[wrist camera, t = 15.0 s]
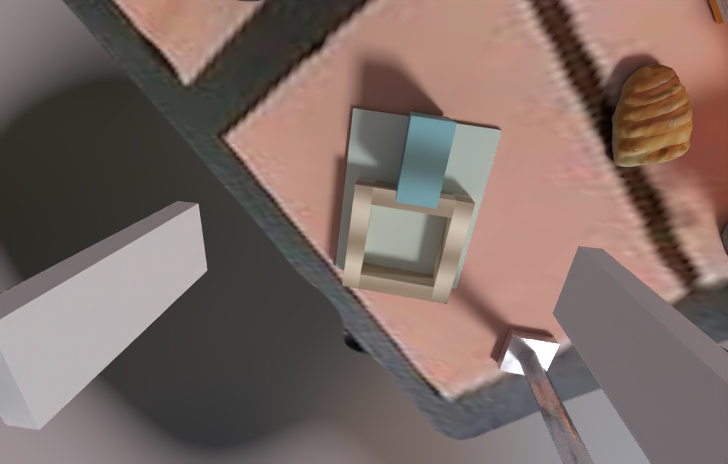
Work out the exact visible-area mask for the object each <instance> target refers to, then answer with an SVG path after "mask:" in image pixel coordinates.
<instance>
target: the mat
mask: <svg viewBox="0 0 728 464" xmlns="http://www.w3.org/2000/svg"><path fill="white" fill-rule="evenodd" d="M408 119H409V116H405V115H398V114H392V113H385V112H378V111H371V110H365V109H358V108H353V115H352V124H351V133H350V141H349V150H348V159H347V168H346V177H345V185H344V194H343V203H342V212H341V221H340V229H339V238H338V247H337V256H336V265H335V268H336V269H342V270H344V268H345V261H346V253H347V245H348V237H349V230H350V222H351V214H352V206H353V198H354V191H355V184H356V182H357V180H358V178H363V179H370V180H376V181H382V182H388V183H394V184H397V180H398V175H399V169H400V164H401V158H402V153H403V147H404V141H405V136H406V130H407V125H408ZM501 133H502V130H499V129H492V128H485V127H479V126H472V125H465V124H458V123H457V125H456V130H455V134H454V138H453V142H452V147H451V151H450V155H449V159H448V163H447V168H446V172H445V176H444V180H443V185H442V189H441V191H444V192H450V193H457V194H463V195H469V196H471V198H472V199H473V201H474V202H475V207H474V210H473V214H472V217H471V221H470V224H469V228H468V231H467V235H466V238H465V242H464V245H463V249H462V252H461V256H460V260H459V263H458V267H457V270H456V274H455V277H454V281H453V284H452V289H457V285H458V282H459V278H460V275H461V271H462V268H463V264H464V261H465V258H466V254H467V251H468V247H469V244H470V240H471V237H472V233H473V230H474V226H475V223H476V219H477V216H478V212H479V209H480V206H481V202H482V199H483V195H484V192H485V188H486V185H487V181H488V178H489V174H490V171H491V167H492V164H493V160H494V157H495V154H496V150H497V147H498V143H499V140H500V136H501ZM446 218H447V217H443V216H437V215H431V214H425V213H419V212H413V211H407V210H400V209H394V208H388V207H382V206H376V205H372V207H371V214H370V220H369V227H368V233H367V240H366V247H365V253H364V260H363V263H367V264H373V265H378V266H384V267H390V268H396V269H402V270H407V271H413V272H419V273H425V274H431V275H432V274H433V270H434V266H435V262H436V258H437V254H438V250H439V246H440V242H441V238H442V234H443V230H444V226H445V222H446Z"/></svg>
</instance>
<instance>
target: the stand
mask: <svg viewBox="0 0 728 464" xmlns="http://www.w3.org/2000/svg"><path fill="white" fill-rule="evenodd" d="M558 346H559V344H558V342H557V341H556V339H555V337H552V336H546V335H541V334H535V333H529V332H524V331H518V330H512V329H509V331H508V334H507V337H506V339H505V342H504V344H503V347H502V350H501V352H500V355H499V357H498V360H497V365H498V368H499V370H500V371H506V372H511V373H517V374H522V375H525V377H526V379H527V381H528V384H529V386H530V388H531V391H532V393H533V395H534V398H535V400H536V402H537V405H538V407H539V409H540V412H541V414H542V416H543V419H544V421H545V423H546V426H547V428H548V430H549V433H550V435H551V437H552V440H553V442H554V444H555V447H556V449H557V451H558V454H559V456H560V458H561V460H562V463H563V464H594V463H593V461H592V459H591V457H590V455H589V453H588V451H587V450H586V448H585V446H584V444H583V442H582V440H581V438H580V436H579V434H578V432H577V430H576V428H575V426H574V424H573V422H572V420H571V418H570V416H569V414H568V412H567V411H566V408H565V406H564V405H563V403H562V401H561V399H560V397H559V395H558V393H557V391H556V389H555V387H554V385H553V383H552V381H551V379H550V377H549V375H548V373H547V369H548V367H549V365H550V363H551V360H552V358H553V356H554V354H555V352H556V350H557V348H558Z"/></svg>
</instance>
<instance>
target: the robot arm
mask: <svg viewBox="0 0 728 464" xmlns="http://www.w3.org/2000/svg"><path fill="white" fill-rule="evenodd" d="M239 1H259V0H239ZM206 271H207V265H206V258H205V250H204V242H203V235H202V228H201V220H200V212H199V205H198V204H197V203H189V202H180V201H178V202H175V203H174V204H172V205H170V206H168V207H166V208H164V209H162V210H160V211H158V212H156V213H154V214H152V215H151V216H149V217H147V218H145V219H143V220H141V221H139V222H137V223H135V224H133V225H131V226H129V227H127V228H126V229H124V230H122V231H120V232H118V233H116V234H114V235H112V236H110V237H108V238H106V239H104V240H102V241H101V242H99V243H97V244H95V245H93V246H91V247H89V248H87V249H85V250H83V251H81V252H80V253H77V254H76V255H74V256H72V257H70V258H68V259H66V260H64V261H62V262H60V263H58V264H56V265H55V266H53V267H51V268H49V269H46V270H44V271H42V272H40V273H38V274H36V275H34V276H32V277H31V278H29V279H26V280H25V281H24V282H22V283H19V284H17V285H15V286H13V287H11V288H9V289H7V290H6V291H4V292H3V293H2V292H1V293H0V415H1V417H2V419H3V421H4V423H5V424H6V425H11V426H17V427H23V428H29V429H36V430H40V429H41V428H42V427H43V426H44V425H45V424H46V423H47V422H48V421H49V420H50V419H51V418H52V417H53V416H55V414H57V412H59V411H60V410H61V409H62V408H63V407H64V406H65V405H66V404H67V403H68V402H69V401H70V400H71V399H72V398H73V397H74V396H75V395H76V394H78V393H79V392H80V391H81V390H82V389H83V388H84V387H85V386H86V385H87V384H88V383H89V382H90V381H91V380H92V379H93V378H94V377H95V376H97V375H98V374H99V373H100V372H101V371H102V370H103V369H104V368H105V367H106V366H107V365H108V364H109V363H110V362H111V361H112V360H113V359H114V358H115V357H116V356H117V355H119V354H120V353H121V352H122V351H123V350H124V349H125V348H126V347H127V346H128V345H129V344H130V343H131V342H132V341H133V340H134V339H135V338H136V337H138V336H139V335H140V334H141V333H142V332H143V331H144V330H145V329H146V328H147V327H148V326H149V325H150V324H151V323H152V322H153V321H154V320H155V319H156V318H158V316H160V315H161V314H162V313H163V312H164V311H165V310H166V309H167V308H168V307H169V306H170V305H171V304H172V303H173V302H174V301H175V300H176V299H177V298H179V297H180V296H181V295H182V293H184V292H185V291H186V290H187V289H188V288H189V287H190V286H191V285H192V284H193V283H194V282H195V281H196V280H197V279H199V278H200V276H202V275H203V274H204V273H205V272H206ZM553 315H554V316H555V318H556V319H557V321H558V322H559V324H560V325H561V327H562V328H563V330H564V331H565V333H566V335H567V336H568V338H569V339H570V341H571V342H572V344H573V345H574V347H575V348H576V350H577V351H578V353H579V354H580V356H581V357H582V359H583V361H584V362H585V364H586V365H587V367H588V368H589V370H590V371H591V373H592V374H593V376H594V377H595V379H596V380H597V382H598V383H599V385H600V387H601V388H602V390H603V391H604V393H605V394H606V396H607V397H608V399H609V400H610V402H611V403H612V405H613V406H614V408H615V409H616V411H617V413H618V414H619V416H620V417H621V419H622V420H623V422H624V423H625V425H626V426H627V428H628V429H629V431H630V432H631V434H632V436H633V437H634V439H635V440H636V442H637V443H638V445H639V446H640V448H641V449H642V451H643V452H644V454H645V455H646V457H647V458H648V460H649V462H650V463H651V464H728V350H726V349H724V348H723V347H721V346H719V345H718V344H717V343H716V342H715V341H713V340H712V339H711V338H710V337H708V336H707V335H706V334H705V333H704V332H702V331H701V330H700V329H699V328H698V327H696V326H695V325H694V324H693V323H692V322H690V321H689V320H688V319H687V318H685V317H684V316H683V315H682V314H681V313H679V312H678V311H677V310H676V309H675V308H673V307H672V306H671V305H670V304H669V303H667V302H666V301H665V300H664V299H662V298H661V297H660V296H659V295H658V294H656V293H655V292H654V291H653V290H652V289H650V288H649V287H648V286H647V285H646V284H644V283H643V282H642V281H641V280H639V279H638V278H637V277H636V276H635V275H633V274H632V273H631V272H630V271H629V270H627V269H626V268H625V267H624V266H622V265H621V264H620V263H619V262H618V261H616V260H615V259H614V258H613V257H612V256H610V255H609V254H608V253H607V252H606V251H604V250H603V249H598V248H589V247H580V246H579V247H578V249H577V252H576V254H575V257H574V260H573V262H572V265H571V268H570V270H569V273H568V275H567V278H566V281H565V283H564V286H563V288H562V291H561V294H560V296H559V299H558V302H557V304H556V307H555V309H554V312H553Z"/></svg>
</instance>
